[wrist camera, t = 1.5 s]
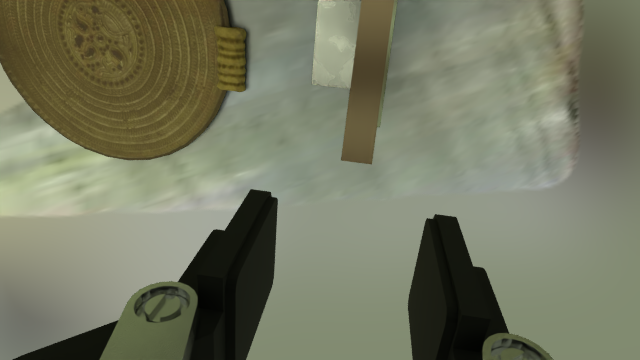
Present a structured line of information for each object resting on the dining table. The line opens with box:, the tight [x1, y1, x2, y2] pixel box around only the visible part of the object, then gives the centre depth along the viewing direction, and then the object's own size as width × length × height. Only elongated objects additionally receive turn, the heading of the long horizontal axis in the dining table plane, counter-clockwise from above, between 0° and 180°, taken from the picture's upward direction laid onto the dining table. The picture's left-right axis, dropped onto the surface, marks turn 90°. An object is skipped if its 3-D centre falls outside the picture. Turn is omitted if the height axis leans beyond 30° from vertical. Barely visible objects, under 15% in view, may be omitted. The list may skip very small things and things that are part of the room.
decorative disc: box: [0, 0, 246, 160], centre depth 46 cm, size 29×3×30 cm
